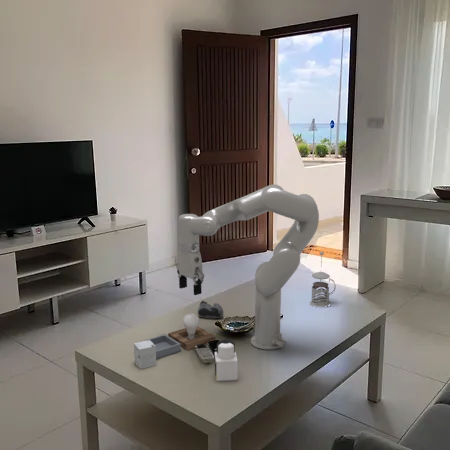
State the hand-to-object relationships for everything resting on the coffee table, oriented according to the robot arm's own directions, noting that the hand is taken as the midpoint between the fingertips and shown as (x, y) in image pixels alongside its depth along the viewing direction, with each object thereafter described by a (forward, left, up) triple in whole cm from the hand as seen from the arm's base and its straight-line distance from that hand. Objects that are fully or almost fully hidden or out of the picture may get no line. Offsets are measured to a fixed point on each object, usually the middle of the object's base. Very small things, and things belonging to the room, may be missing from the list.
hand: (190, 290), depth 190 cm
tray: (0, +14, -20) cm, 24 cm away
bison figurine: (+16, -21, -20) cm, 33 cm away
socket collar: (0, 0, -20) cm, 20 cm away
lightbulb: (0, 0, -20) cm, 20 cm away
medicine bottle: (-30, +7, -20) cm, 37 cm away
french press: (-5, -69, -20) cm, 73 cm away
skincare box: (-6, +23, -20) cm, 32 cm away
